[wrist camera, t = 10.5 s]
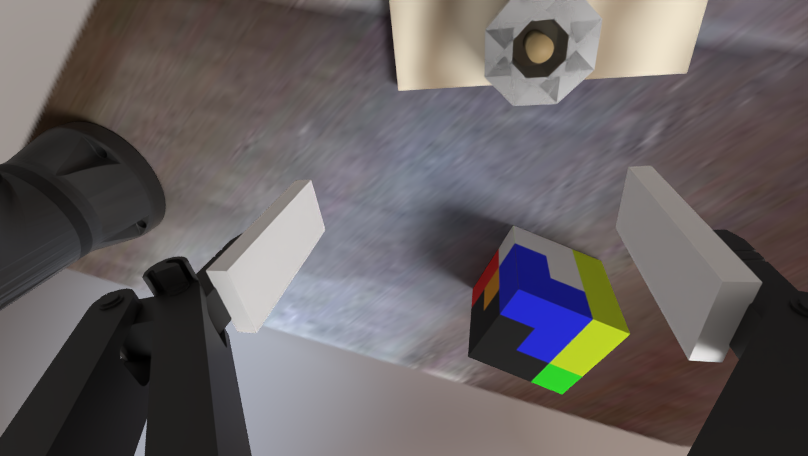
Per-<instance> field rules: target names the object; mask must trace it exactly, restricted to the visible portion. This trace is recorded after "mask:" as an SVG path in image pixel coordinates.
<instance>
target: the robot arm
mask: <svg viewBox="0 0 808 456" xmlns="http://www.w3.org/2000/svg"><path fill="white" fill-rule="evenodd" d="M164 214H165V197H164V193H163V190H162V187H161V185H160V183H159V181H158V179H157V177H156V175H155V173H154V172H153V170H152V169H151V167H150V166H149V165H148V163H147V162H146V161H145V160H144V158H143V157H142V156H141V155H140V154H139V153H138V152H137V151H136V150H135V149H134V148H133V147H132V146H131V145H129V144H128V143H127V142H126V141H124V140H123V139H122V138H120V137H119V136H117V135H116V134H114V133H112V132H111V131H109V130H107V129H105V128H103V127H100V126H98V125H95V124H92V123H87V122H70V123H66V124H63V125H60V126H56V127H53V128H50V129H48V130H47V131H45V132H43V133H42V134H40V135H39V136H38V137H37V138H35V139H34V140H33V141H32V142H31V143H29V144H28V145H27V146H26V147H24V148H23V149H22V150H21V151H19V152H18V153H17V154H16V155H14V156H13V157H12V158H11V159H10V160H8V161H7V162H5V163H3V164H0V311H1V310H2V309H4V308H6V307H7V306H8V305H10V304H12V303H13V302H15V301H16V300H18V299H19V298H21V297H22V296H23V295H25V294H27V293H28V292H30V291H31V290H33V289H35V288H36V287H37V286H39V285H41V284H42V283H44V282H45V281H47V280H48V279H50V278H51V277H53V276H54V275H56V274H57V273H59V272H60V271H62V270H64V269H65V268H67V267H68V266H70V265H71V264H73V263H74V262H76V261H77V260H79V259H80V258H82V257H83V256H85V255H87V254H88V253H90V252H92V251H94V250H98V249H101V248H104V247H108V246H111V245H115V244H118V243H121V242H125V241H128V240H132V239H135V238H138V237H140V236H143V235H144V234H146V233H147V232H149V231H150V230H152V229H153V228H155V227H156V226H157V225H158V224H159V223H160V222H161V221H162V219H163V217H164ZM616 230H617V232H618V233H619V235H620V237H621V239H622V241H623V242H624V244H625V246H626V248H627V250H628V251H629V253H630V255H631V257H632V259H633V260H634V262H635V264H636V266H637V268H638V269H639V271H640V273H641V275H642V277H643V278H644V280H645V282H646V284H647V286H648V287H649V289H650V291H651V293H652V295H653V297H654V298H655V300H656V302H657V304H658V306H659V307H660V309H661V311H662V313H663V315H664V316H665V318H666V320H667V322H668V324H669V325H670V327H671V329H672V331H673V333H674V334H675V336H676V338H677V340H678V342H679V343H680V345H681V347H682V349H683V351H684V352H685V354H686V356H687V358H688V360H693V361H709V362H722V361H723V359H724V357H725V356H726V354H727V352H728V350H729V348H730V347H731V348H732V350H733V351H734V353H735V354H736V356H737V357H738V359H739V361H738V363H737V365H736V367H735V368H734V370H733V372H732V374H731V376H730V378H729V379H728V381H727V383H726V385H725V387H724V389H723V390H722V392H721V394H720V396H719V398H718V400H717V401H716V403H715V405H714V407H713V409H712V411H711V412H710V414H709V416H708V418H707V420H706V422H705V423H704V425H703V427H702V429H701V431H700V433H699V434H698V436H697V438H696V440H695V442H694V444H693V445H692V447H691V449H690V451H689V453H688V455H687V456H808V293H807V292H803V291H798V290H797V289H796V288H795V287H794V286H793V285H792V284H791V283H789V282H788V281H787V280H786V279H785V278H784V277H783V276H782V275H781V274H780V273H779V272H778V271H777V270H776V269H775V268H774V267H773V266H772V265H771V264H770V263H769V262H765V259H764V258H763V257H762V256H761V255H760V254H759V253H758V252H756V250H755V249H754V248H753V247H752V246H751V245H750V244H749V243H748V242H747V241H745V240H744V239H743V238H741V237H739V236H737V235H735V234H733V233H731V232H730V231H728V230H712V229H711V228H710V227H709V226H708V225H707V224H706V223H705V222H704V221H703V220H702V219H701V218H700V217H699V215H698V214H697V213H696V212H695V211H694V210H693V209H692V208H691V207H690V206H689V205H688V204H687V203H686V202H685V201H684V200H683V199H682V198H681V197H680V196H679V195H678V193H677V192H676V191H675V190H674V189H673V188H672V187H671V186H670V185H669V184H668V183H667V182H666V181H665V180H664V179H663V178H662V177H661V176H660V175H659V174H658V173H657V172H656V170H655V169H654V168H653V167H652V166H637V167H628V172H627V176H626V181H625V186H624V191H623V195H622V200H621V205H620V210H619V214H618V219H617V224H616ZM324 231H325V227H324V224H323V220H322V217H321V213H320V209H319V206H318V202H317V199H316V195H315V192H314V188H313V185H312V181H311V180H296V181H295V182H294V183H293V184H292V185H291V186H290V187H289V188H288V189H287V190H286V191H285V192H284V193H283V194H282V195H281V196H280V197H279V198H278V199H277V200H276V201H275V202H274V203H273V204H272V205H271V206H270V207H269V208H268V209H267V210H266V211H265V212H264V213H263V214H262V215H261V216H260V217H259V218H258V219H257V220H256V221H255V222H254V223H253V224H252V225H251V226H250V227H249V228H248V229H247V230H246V231H245V232H244V233H242V234H240V235H239V236H237V237H235V238H234V239H232V240H230V241H229V242H228V243H227V244H226V245H225V246H224V247H223V248H222V250H220V251H219V252H218V253H217V254H216V255H215V257H213V258H212V259H211V260H210V261H209V262H208V263H207V264H206V265H205V266H204V267H203V268H202V269H201V270H200V271H199V272H198V273H197V274H195V272H194V270H193V269H192V267H191V265H190V263H189V261H188V260H187V258H185V257H182V256H181V257H172V258H169V259H165V260H163V261H161V262H158V263H157V264H155V265H153V266H152V267H150V268H149V269H148V270H147V271H146V272H145V273H144V275H143V277H142V278H143V279H144V281H145V282H146V284H147V285H148V287H149V289H150V290H151V292H152V293H153V295H154V297H149V298H143V299H138V297H137V295H136V294H135V292H134V291H133V290H132V289H121V290H117V291H114V292H110V293H108V294H107V295H106V294H105V295H104V296H102V297H101V298H100V299H98V300H97V301H96V302H94V303H93V304H92V305H91V306H90V307H89V309H88V310H87V312H86V313H85V314H84V316H83V317H82V319H81V320H80V322H79V323H78V325H77V326H76V328H75V329H74V331H73V332H72V333H71V335H70V336H69V338H68V339H67V341H66V342H65V344H64V345H63V347H62V348H61V350H60V351H59V353H58V354H57V355H56V357H55V358H54V360H53V361H52V363H51V364H50V366H49V367H48V369H47V370H46V371H45V373H44V375H43V376H42V377H41V379H40V381H39V382H38V383H37V385H36V386H35V388H34V389H33V390H32V392H31V393H30V395H29V396H28V398H27V399H26V401H25V402H24V404H23V405H22V407H21V408H20V410H19V411H18V413H17V414H16V415H15V417H14V418H13V420H12V421H11V423H10V424H9V426H8V427H7V429H6V430H5V432H4V433H3V434H2V436H1V437H0V456H134V454H135V451H136V448H137V445H138V442H139V440H140V437H141V434H142V431H143V428H144V425H145V422H146V419H147V430H146V444H145V445H146V446H145V456H252V455H251V450H250V445H249V439H248V434H247V429H246V424H245V419H244V414H243V408H242V403H241V398H240V393H239V387H238V382H237V377H236V371H235V366H234V361H233V355H232V350H231V345H230V339H229V335H228V333H227V331H226V329H225V327H226V326H227V324H228V323H229V322H230V321H231V320H232V322H233V324H234V325H235V328H236V330H237V331H238V332H248V333H257V332H258V330H259V329H260V327H261V326H262V324H263V323H264V321H265V320H266V318H267V317H268V315H269V314H270V312H271V311H272V309H273V308H274V306H275V305H276V303H277V302H278V300H279V299H280V297H281V296H282V294H283V293H284V291H285V290H286V288H287V287H288V285H289V284H290V282H291V281H292V279H293V278H294V276H295V275H296V273H297V272H298V270H299V269H300V267H301V266H302V264H303V263H304V261H305V260H306V258H307V257H308V255H309V254H310V252H311V251H312V249H313V248H314V246H315V245H316V243H317V242H318V240H319V239H320V237H321V236H322V234H323V233H324ZM120 356H121V357H122V358H120Z"/></svg>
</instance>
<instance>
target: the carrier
mask: <svg viewBox="0 0 808 456" xmlns="http://www.w3.org/2000/svg"><path fill="white" fill-rule="evenodd" d="M506 1H507V0H389V3H390V12H391V22H392V32H393V42H394V51H395V61H396V71H397V81H398V91H401V90H418V89H434V88H451V87H467V86H483V85H492V84H491V83H490V82H489V81H488V80H487V79H486V78H485V77H484V74H485V29H486V25H487V23H488V22H489V21H490V20H491V19H492V17H493V16H494V15H495V14H496V13H497V11H498V10H499V9H500V8H501V7H502V6H503V4H504V3H505V2H506ZM586 1H587V2H588V3H589V4H590V5H591V6H592V7H593V9H594V10H595V11H596V12H597V13H598V14H599V15H600V17H601V18H602V26H601V32H600V38H599V44H598V50H597V56H596V63H595V69H594V71H593V72H591V73H590V74H589V75H588V76H587V77H586V78H585V79H599V78H615V77H632V76H648V75H665V74H681V73H687V71H688V67H689V64H690V60H691V57H692V53H693V50H694V46H695V43H696V39H697V36H698V32H699V29H700V26H701V22H702V19H703V15H704V12H705V8H706V5H707V1H708V0H586ZM557 32H558V28H557V27H556V26H555V25H554V24H553V23H552V22H551V21H550V20H539V21H530V22H529V24H528V25H527V26H526V27H525V28H524V29H523V30H522V31H521V32H520V33H519V35H518V36H517V37H516V38H515V39H514V40H513V54H512V56H513V57H514V58H515V60H516V61H517V62H518V63H519V64H520V65H521V66H530V65H541V64H542V63H543V62H545V61H547V60H548V59H549V58H550V57H551V55H552V53H553V52H554V51H555V50H556V42H557Z"/></svg>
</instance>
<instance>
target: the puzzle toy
mask: <svg viewBox="0 0 808 456" xmlns="http://www.w3.org/2000/svg"><path fill="white" fill-rule="evenodd" d="M629 335H630V332H629V330H628V327H627V325H626V322H625V320H624V317H623V315H622V312H621V310H620V307H619V305H618V302H617V300H616V297H615V295H614V292H613V290H612V287H611V285H610V282H609V279H608V277H607V274H606V272H605V269H604V267H603V264H602V262H601V261H600V260H597V259H595V258H592V257H590V256H588V255H585V254H583V253H580V252H578V251H575V250H573V249H570V248H568V247H565V246H563V245H560V244H558V243H556V242H553V241H551V240H548V239H546V238H543V237H541V236H538V235H536V234H533V233H531V232H528V231H526V230H523V229H521V228H519V227H516V226H514V225H513V227H512V228H511V230H510V231H509V233H508V235H507V236H506V238H505V239H504V241H503V242H502V244H501V246H500V247H499V249H498V250H497V252H496V253H495V255H494V256H493V258H492V260H491V261H490V263H489V264H488V266H487V267H486V269H485V271H484V272H483V274H482V275H481V277H480V278H479V280H478V282H477V283H476V285H475V286H474V288H473V295H472V309H471V323H470V337H469V351H468V357H470V358H472V359H475V360H477V361H480V362H482V363H485V364H487V365H490V366H493V367H495V368H498V369H500V370H503V371H505V372H508V373H510V374H513V375H515V376H518V377H520V378H523V379H525V380H528V381H530V382H533V383H535V384H538V385H540V386H543V387H545V388H548V389H550V390H553V391H555V392H558V393H560V394H563V393H564V392H565V391H566V390H568V389H569V388H570V387H571V386H572V385H573V384H574V383H575V382H577V381H578V380H579V379H580V378H581V377H582V376H583V375H585V374H586V373H587V372H588V371H589V370H590V369H591V368H592V367H594V366H595V365H596V364H597V363H598V362H599V361H600V360H601V359H603V358H604V357H605V356H606V355H607V354H608V353H609V352H611V351H612V350H613V349H614V348H615V347H616V346H617V345H618V344H620V343H621V342H622V341H623V340H624V339H625V338H626V337H628V336H629Z"/></svg>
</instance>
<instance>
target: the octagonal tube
mask: <svg viewBox="0 0 808 456" xmlns="http://www.w3.org/2000/svg"><path fill="white" fill-rule="evenodd" d="M539 20H550V21H551V22H552V23H553V24H554V25H555V26H556V27H557V28H558V32H557V42H556V50H555V51H554V52H553V53H552V55H551V57H550V58H549V59H548V60H547V61H545V62H543V63H542V64H541V65H530V66H521V65H520V64H519V63H518V62H517V61H516V60H515V58H514V57H513V56H512V54H513V40H514V39H515V38H516V37H517V36H518V35H519V33H520V32H521V31H522V30H523V29H524V28H525V27H526V26H527V25H528V24H529V22H530V21H539ZM601 26H602V18H601V17H600V15H599V14H598V13H597V12H596V11H595V10H594V9H593V7H592V6H591V5H590V4H589V3H588V2H587V1H586V0H507V1H506V2H505V3H504V4H503V6H502V7H501V8H500V9H499V10H498V11H497V13H496V14H495V15H494V16H493V17H492V19H491V20H490V21H489V22H488V23H487V25H486V29H485V74H484V77H485V78H486V79H487V80H488V81H489V82H490V83H491V84H492V85H493V86H494V87H495V88H496V89H497V90H498V91H499V92H500V93H501V94H502V95H503V96H504V97H505V98H506V99H507V100H508V101H509V102H510V103H511V104H512V105H513V106H521V105H541V104H557V103H558V102H559V101H561V100H562V99H563V98H564V97H565V96H566V95H567V94H568V93H569V92H570V91H572V90H573V89H574V88H575V87H576V86H577V85H578V84H579V83H580V82H581V81H583V80H584V79H585V78H586V77H587V76H588V75H589V74H590V73H591V72H593V71H594V69H595V63H596V56H597V50H598V44H599V38H600V32H601Z"/></svg>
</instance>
